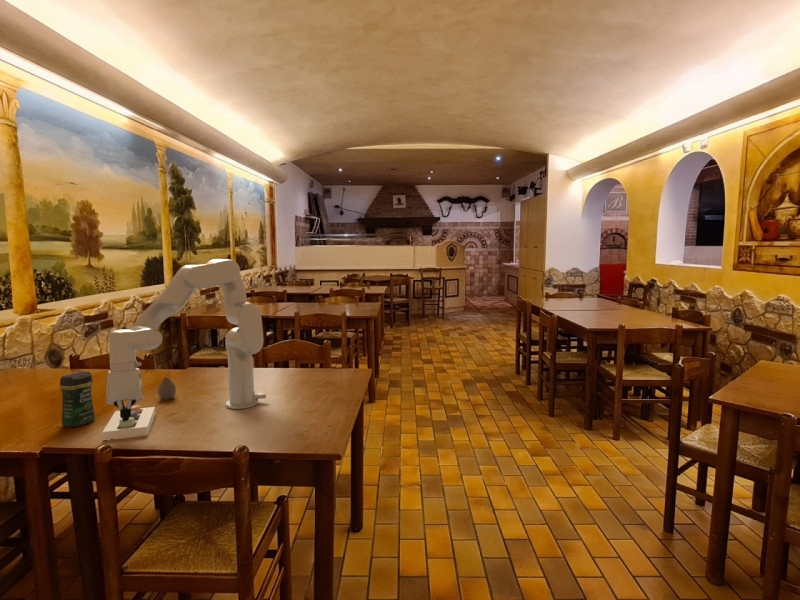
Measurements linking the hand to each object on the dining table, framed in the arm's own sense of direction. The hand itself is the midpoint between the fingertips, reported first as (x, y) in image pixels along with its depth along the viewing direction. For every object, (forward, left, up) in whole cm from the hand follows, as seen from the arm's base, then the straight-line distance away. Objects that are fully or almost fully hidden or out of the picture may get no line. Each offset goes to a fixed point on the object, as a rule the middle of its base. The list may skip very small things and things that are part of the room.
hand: (126, 419), depth 157 cm
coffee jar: (+18, -18, -5) cm, 26 cm away
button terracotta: (0, -14, -3) cm, 14 cm away
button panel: (0, -7, -5) cm, 9 cm away
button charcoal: (0, -7, -3) cm, 8 cm away
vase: (-9, -38, -5) cm, 40 cm away
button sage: (0, 0, -3) cm, 3 cm away
